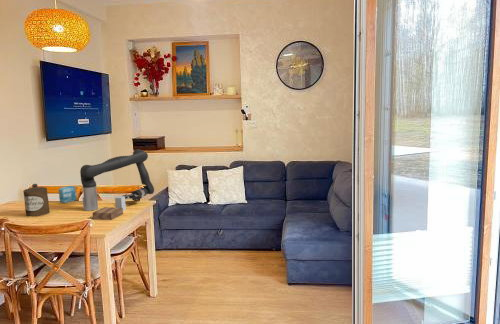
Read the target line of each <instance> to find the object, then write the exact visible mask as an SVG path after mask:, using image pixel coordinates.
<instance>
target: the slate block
mask: <svg viewBox="0 0 500 324" xmlns="http://www.w3.org/2000/svg"><path fill="white" fill-rule="evenodd" d="M114 202H115V203H114V205H115V208H123V212H124V211H126V209H127V208H126V199H125V196H123V195H118V196H116V197H114Z"/></svg>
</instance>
